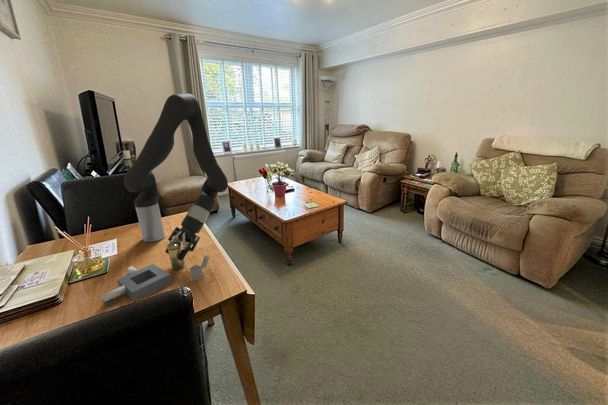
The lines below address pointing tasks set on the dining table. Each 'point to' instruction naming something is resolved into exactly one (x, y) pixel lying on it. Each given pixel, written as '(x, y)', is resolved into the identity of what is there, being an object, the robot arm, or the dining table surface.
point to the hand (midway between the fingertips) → (173, 256)
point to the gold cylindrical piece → (175, 255)
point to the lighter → (198, 270)
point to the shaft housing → (135, 277)
